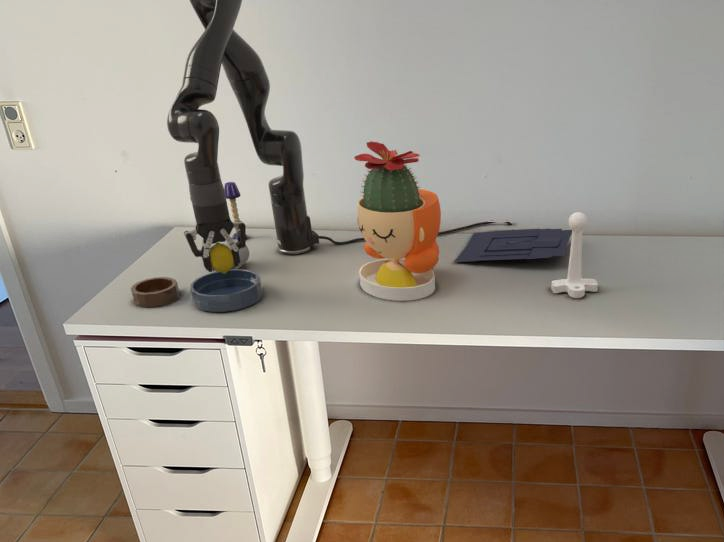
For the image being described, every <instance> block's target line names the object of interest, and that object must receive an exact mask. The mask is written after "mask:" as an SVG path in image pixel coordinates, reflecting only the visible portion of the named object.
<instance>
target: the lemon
mask: <svg viewBox="0 0 724 542" xmlns="http://www.w3.org/2000/svg"><path fill="white" fill-rule="evenodd" d="M208 256H209V257H210V262H211V266H212V270H214V271H215V272H221V273H223V274H226V273H227V271H229V270H230V269H231V268H232V266H233V263H234V258H233V254H232V252H231V250H230V248H229V247H228V246H226V245H224V244H223V243H221V242H217V243H215V244H212V245H211V249H210V251H209V255H208Z"/></svg>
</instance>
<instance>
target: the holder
mask: <svg viewBox="0 0 724 542" xmlns="http://www.w3.org/2000/svg"><path fill="white" fill-rule="evenodd" d="M130 291H131V295H132V298H133V301H134V304H135V305H136V306H138V307H140V308H141V307H142V308H157V307H163V306H166V305H169V304H172V303H174V302H175V301H177V300H178V299H179V298H180V296H181V295H180V294H181V293H180V289H179V284H178V282H177V280H176V279H175V278H172V277H167V276H159V277H151V278H146V279H143V280H140V281H137V282H136V283H135V284H133V285H132V286H131V287H130Z"/></svg>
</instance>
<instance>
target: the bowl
mask: <svg viewBox="0 0 724 542" xmlns="http://www.w3.org/2000/svg"><path fill="white" fill-rule="evenodd" d="M189 289H190V290H189V291H190V293H191V298H192V303H193V304H194V306H195V308H197V309H199V310H201V311H206V312H211V313H213V312H214V313H225V312H233V311H238V310H242V309H245V308H248V307H249V306H252V305H254V304H256V303H257V302H259V301H260V300H261V298H262V297H263V293H264V292H263V285H262V280H261V276H260V275H259V274H258V273H257V272H254V271H252V270H248V269H240V268H238V269H231V270H229V271H227V273H226V274H223V273H221V272H217V271H212V272H209V273H206V274H203V275H202V276H200V277H198V278H196V279H194V281H192V282H191V284H190V287H189Z"/></svg>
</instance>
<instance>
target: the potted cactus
mask: <svg viewBox="0 0 724 542" xmlns="http://www.w3.org/2000/svg"><path fill="white" fill-rule="evenodd" d="M366 147H367V149H369V150H370V151H371V152H373V153H374V154H376V155H377V156H378V157H375V156H374V155H372V154H370V153H360V154H357V155H354V160H355V161H358V162H365V164H364V167H365V168H366V172H367V173H364V175H363V176H365V179H362V180H360V181H361V182H362V183H363V184H361V190H360V191H359V192H360V199H359V200H358V201H357V206H356V207H357V208H356V211H357V213H356V215H357V217H356V219H357V224H358V229H359V231H360V233H361V236H362V238H364V239H365V240H364V241H365V244H364V251H365V253H366V254H367V255H368V256H370V257H371V258H374V259H378V260H372V261H370V262H367V263H365V264H363V265H362V266H361V267H360V268H359V270H358V274H359V283H360V288H361V289H362V290H363V292H365V293H367V294H369V295H370V296H373V297H375V298H378V299H381V300H387V301H397V302H407V301H416V300H421V299H424V298H426V297H429V296H430V295H432V294H433V293H435V290H436V281H435V280H436V279H435V278H436V276H435V272H434V270H433V269H434V268H435V267H436V265H437V264H438V262H439V260H440V259H439V258H440V257H439V256H440V247H439V244H438V242H437V238H438V236H439V235H438V233H439V232H440V228H441V221H442V213H441V212H442V211H441V203H440V199H439V196H438V194H437V193H435V192H433V191H431V190H427V189H422V188H420V187H421V186H420V184H419V183H420V181H416V180H418V177H417V175H415V174H413V173H415V172H414V171H415V170H412V167H411V166H409V165H408V164H413V163H414V164H415V163H419V161H420V160H419V157H420V156H421V155H420V154H419V153H416V152H415V151H412V150H409V151H406V152H404V153H401V154H398V152H397V150H396V149H394V150H393V149H391V150H389V149H388V148H387V146H386V145H385V144H384V143H380V142H378V141H372V140H371V141H368V142H367V141H366ZM379 157H380V158H379ZM418 184H419V185H418Z"/></svg>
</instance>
